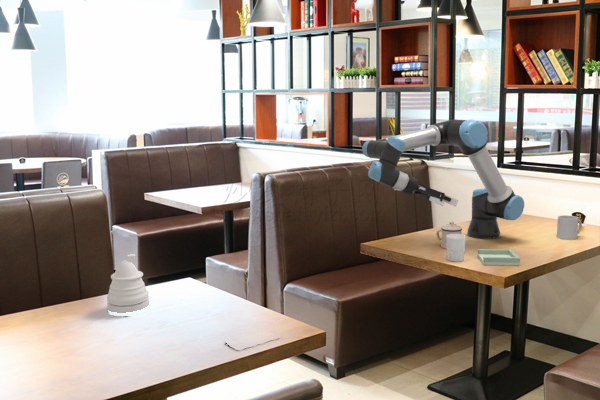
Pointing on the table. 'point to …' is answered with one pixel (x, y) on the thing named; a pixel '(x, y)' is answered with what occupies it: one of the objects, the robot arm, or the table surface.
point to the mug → (568, 227)
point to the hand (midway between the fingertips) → (450, 203)
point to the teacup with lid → (448, 232)
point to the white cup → (455, 247)
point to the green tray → (498, 257)
